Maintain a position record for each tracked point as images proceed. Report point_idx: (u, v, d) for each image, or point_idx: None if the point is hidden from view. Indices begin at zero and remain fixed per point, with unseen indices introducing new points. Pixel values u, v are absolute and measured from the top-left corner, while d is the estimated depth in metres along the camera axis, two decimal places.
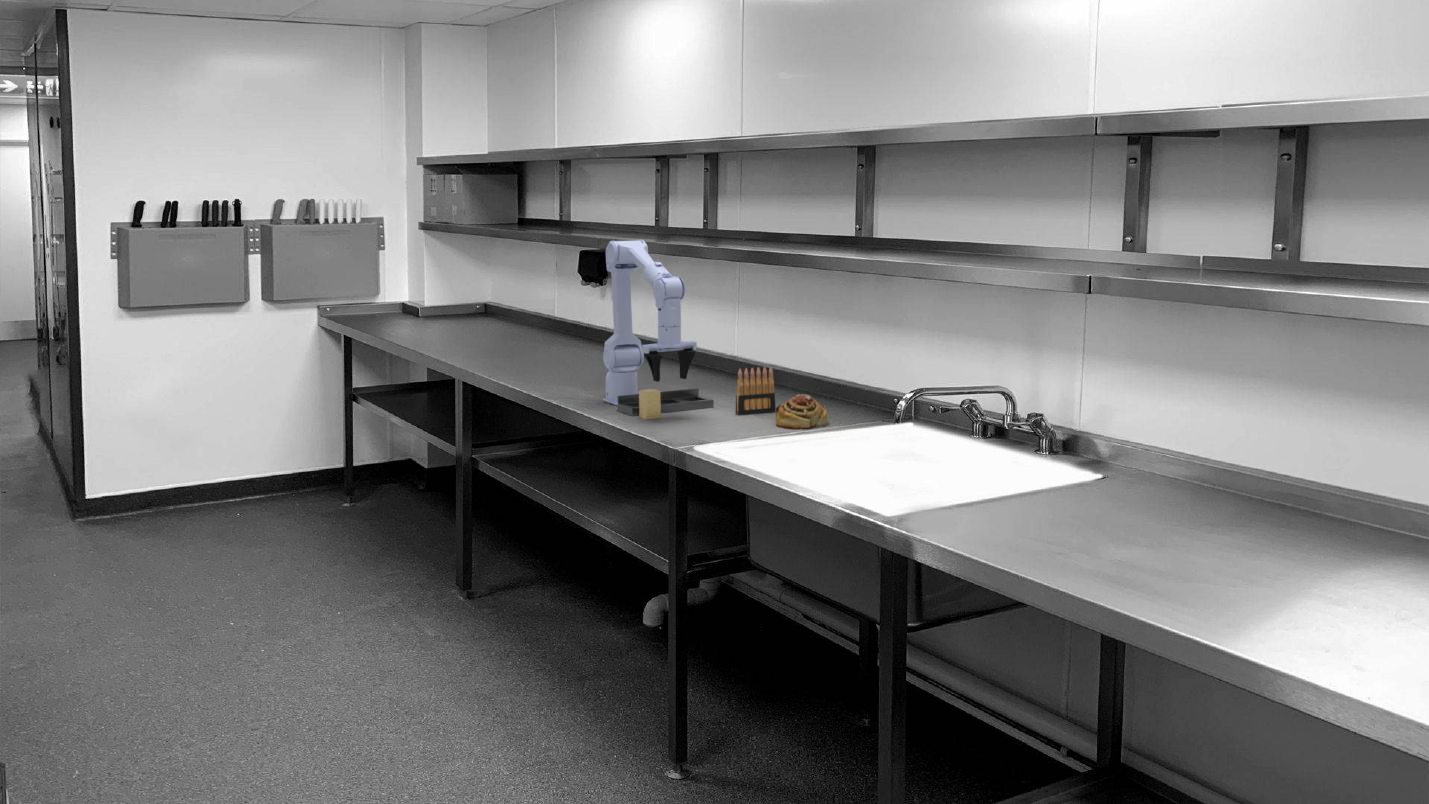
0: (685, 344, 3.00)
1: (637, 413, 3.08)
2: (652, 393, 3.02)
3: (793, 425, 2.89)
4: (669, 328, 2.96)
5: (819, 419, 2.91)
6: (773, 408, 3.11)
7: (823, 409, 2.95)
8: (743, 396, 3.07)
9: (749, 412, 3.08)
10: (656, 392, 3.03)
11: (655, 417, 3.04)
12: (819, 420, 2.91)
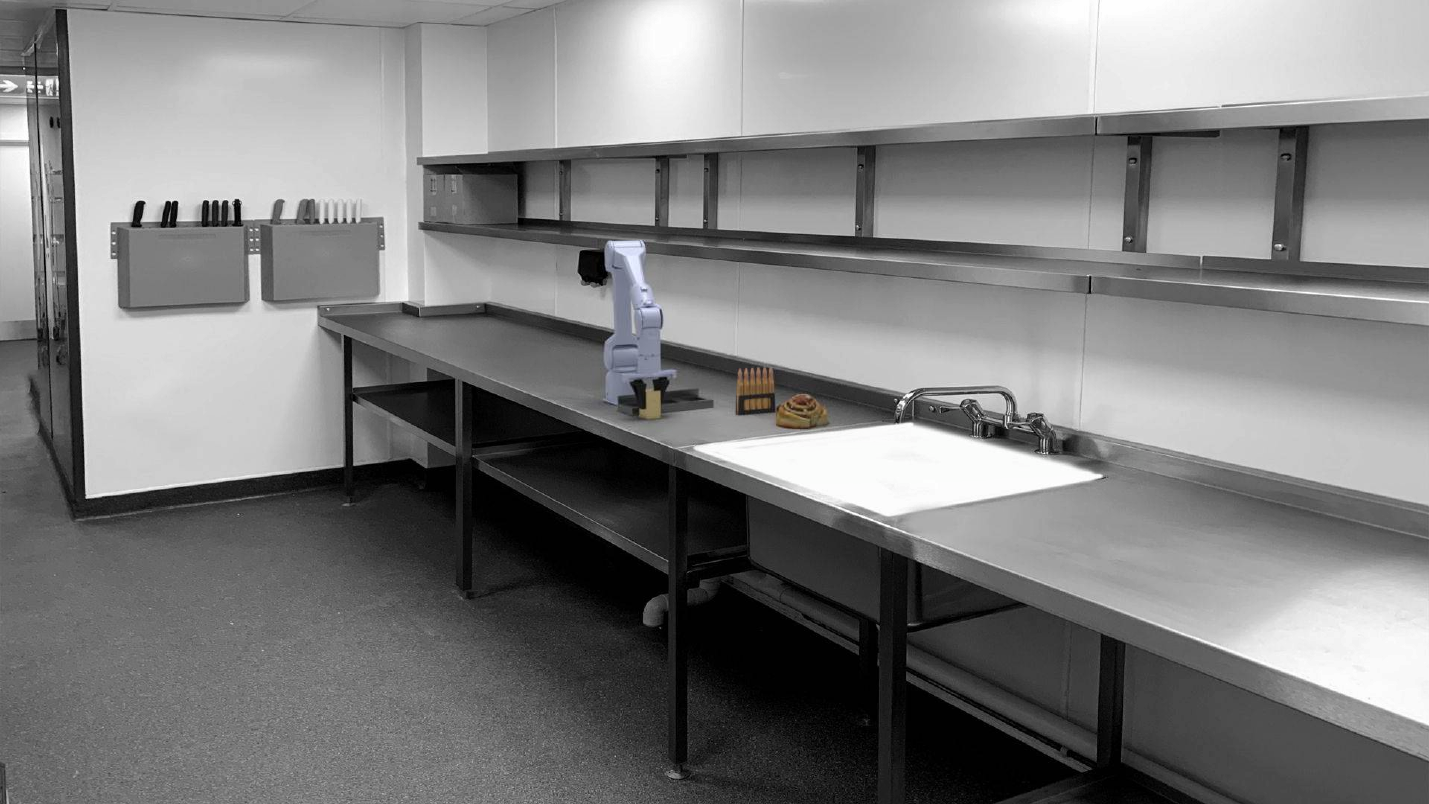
0: (665, 373, 3.03)
1: (637, 413, 3.08)
2: (652, 393, 3.02)
3: (792, 425, 2.89)
4: (648, 357, 3.00)
5: (819, 419, 2.92)
6: (773, 408, 3.11)
7: (824, 409, 2.95)
8: (743, 396, 3.07)
9: (749, 412, 3.08)
10: (656, 392, 3.03)
11: (655, 417, 3.04)
12: (819, 420, 2.92)
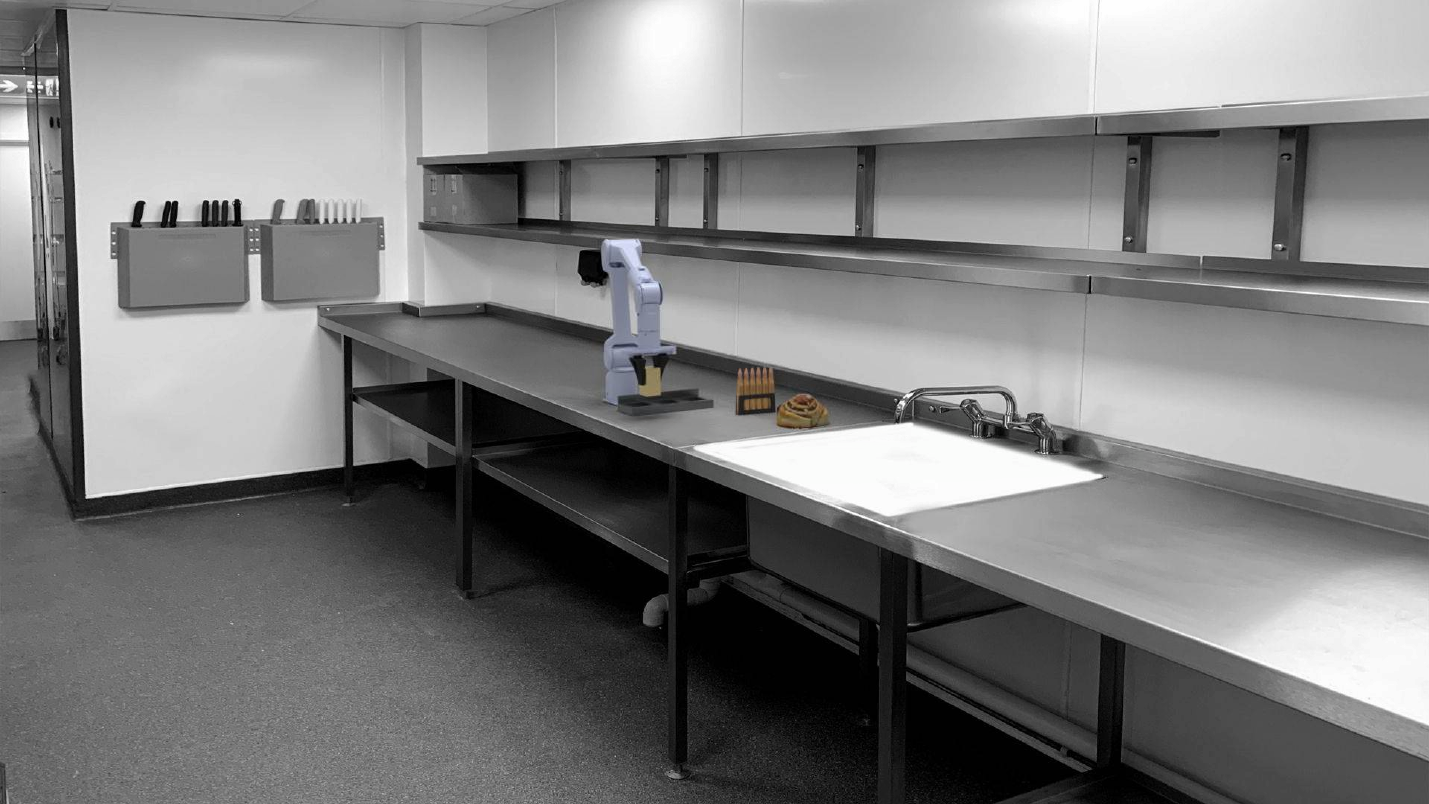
0: (664, 349, 3.02)
1: (637, 413, 3.08)
2: (652, 370, 3.01)
3: (793, 425, 2.90)
4: (648, 333, 2.98)
5: (820, 418, 2.92)
6: (773, 408, 3.11)
7: (824, 409, 2.95)
8: (743, 396, 3.07)
9: (749, 412, 3.08)
10: (656, 369, 3.02)
11: (655, 394, 3.02)
12: (820, 419, 2.92)
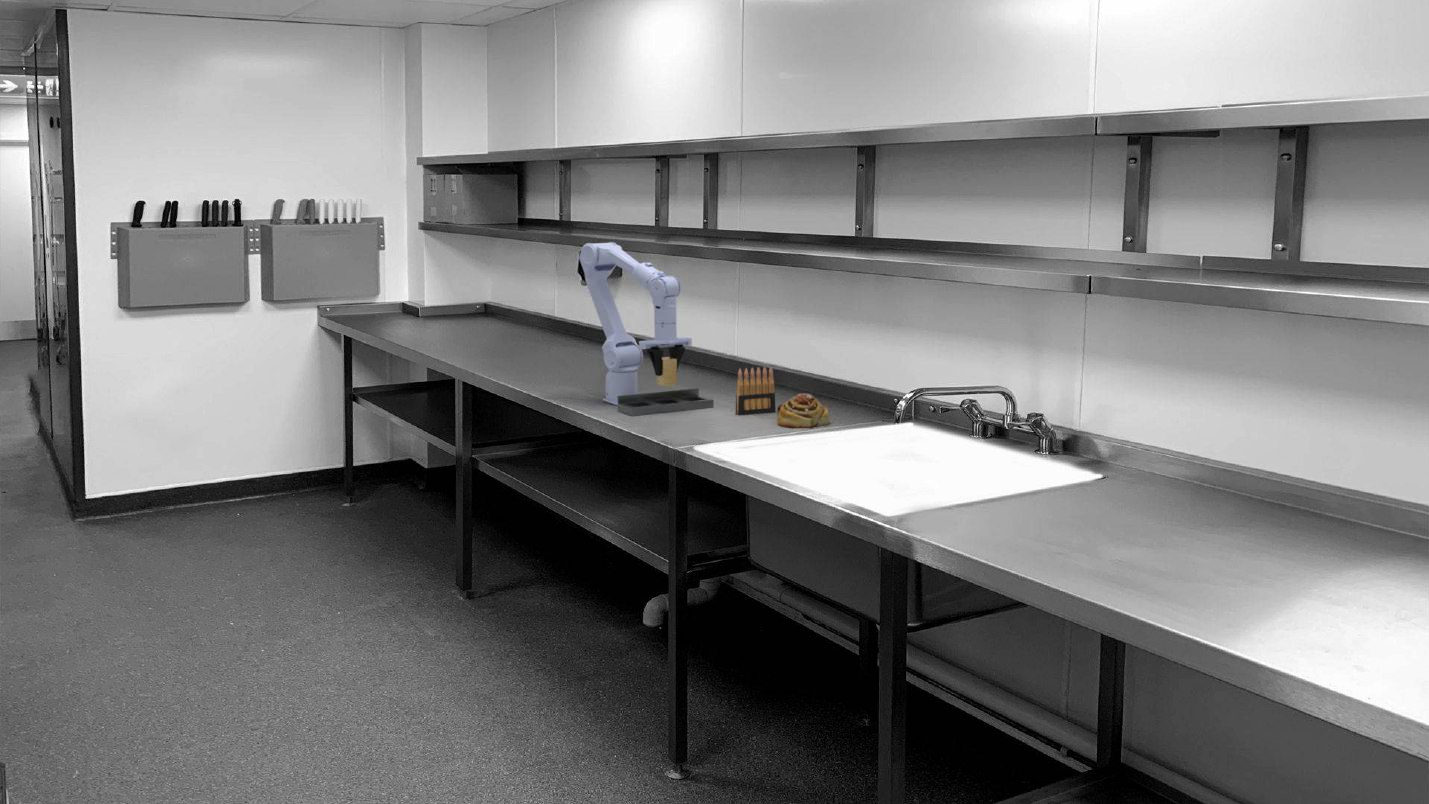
0: (680, 340, 3.13)
1: (637, 413, 3.08)
2: (669, 361, 3.12)
3: (794, 424, 2.90)
4: (665, 325, 3.10)
5: (820, 418, 2.92)
6: (773, 408, 3.11)
7: (825, 409, 2.96)
8: (743, 396, 3.07)
9: (749, 412, 3.08)
10: (672, 360, 3.13)
11: (671, 384, 3.13)
12: (820, 419, 2.92)
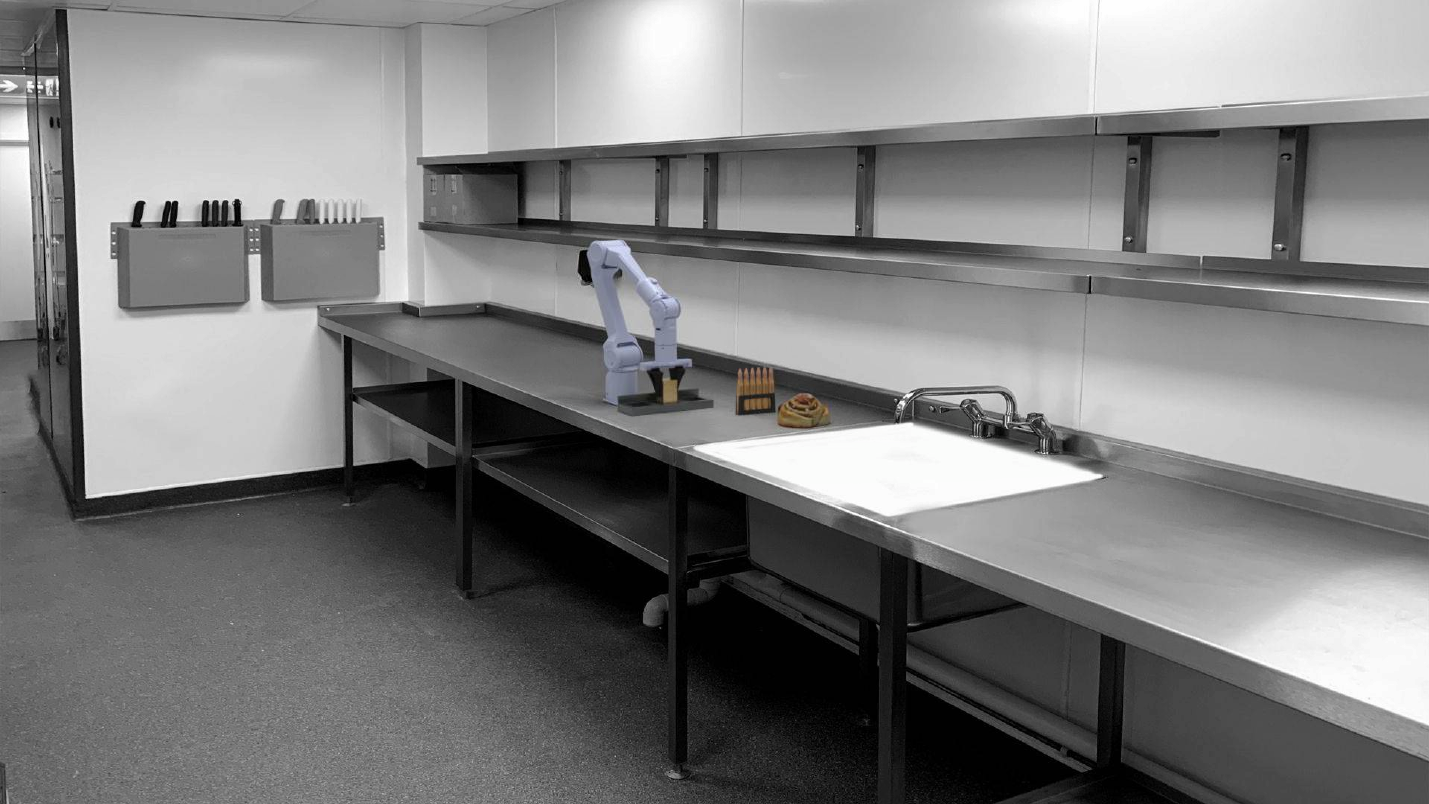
0: (681, 362, 3.14)
1: (637, 413, 3.08)
2: (669, 382, 3.13)
3: (795, 424, 2.90)
4: (665, 347, 3.11)
5: (821, 418, 2.93)
6: (773, 408, 3.11)
7: (825, 409, 2.96)
8: (743, 396, 3.07)
9: (749, 412, 3.08)
10: (673, 381, 3.13)
11: None
12: (821, 419, 2.93)
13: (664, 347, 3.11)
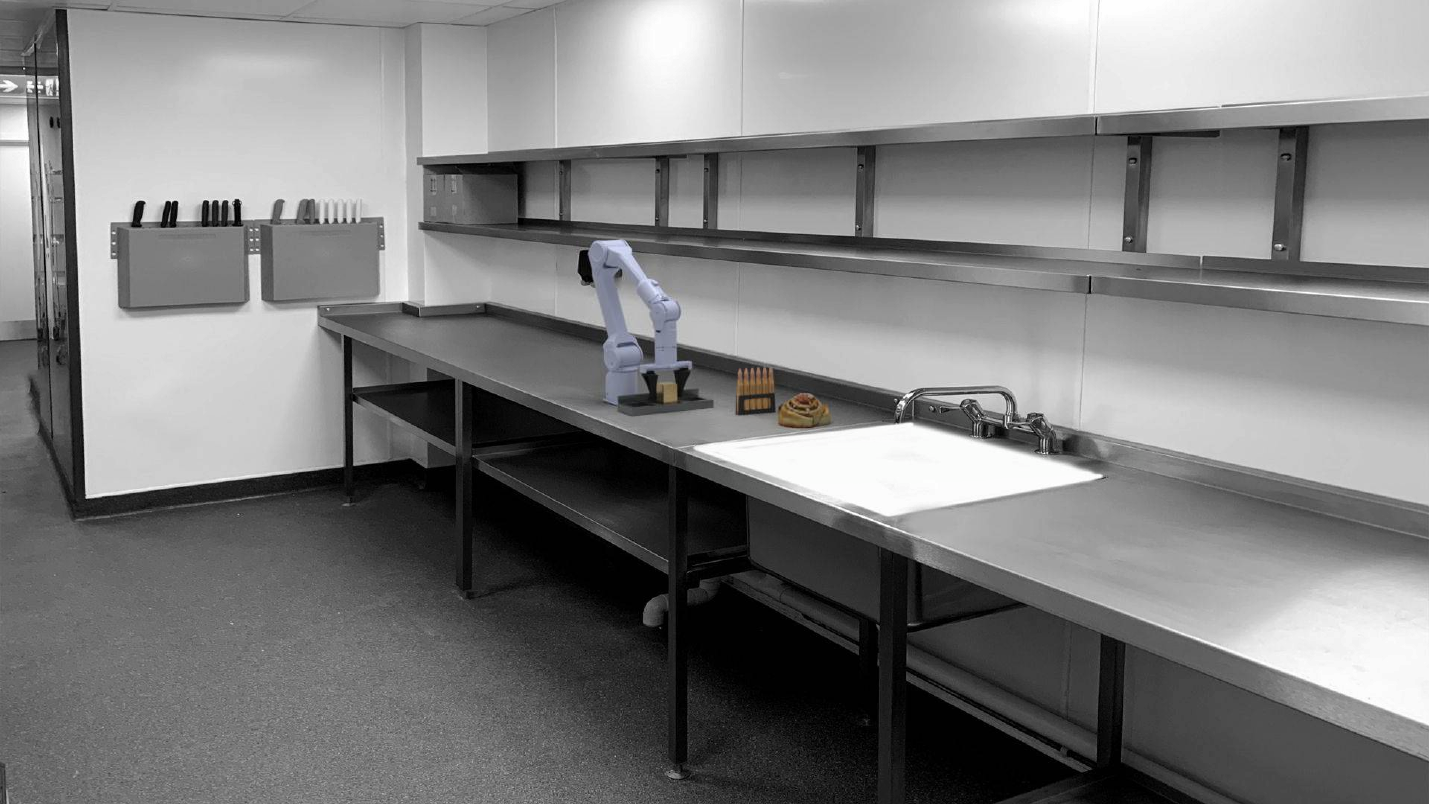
0: (681, 364, 3.14)
1: (637, 413, 3.08)
2: (669, 386, 3.13)
3: (795, 424, 2.90)
4: (665, 349, 3.11)
5: (821, 418, 2.93)
6: (773, 408, 3.11)
7: (826, 408, 2.96)
8: (743, 396, 3.07)
9: (749, 412, 3.08)
10: (673, 385, 3.14)
11: None
12: (821, 419, 2.93)
13: (664, 349, 3.11)
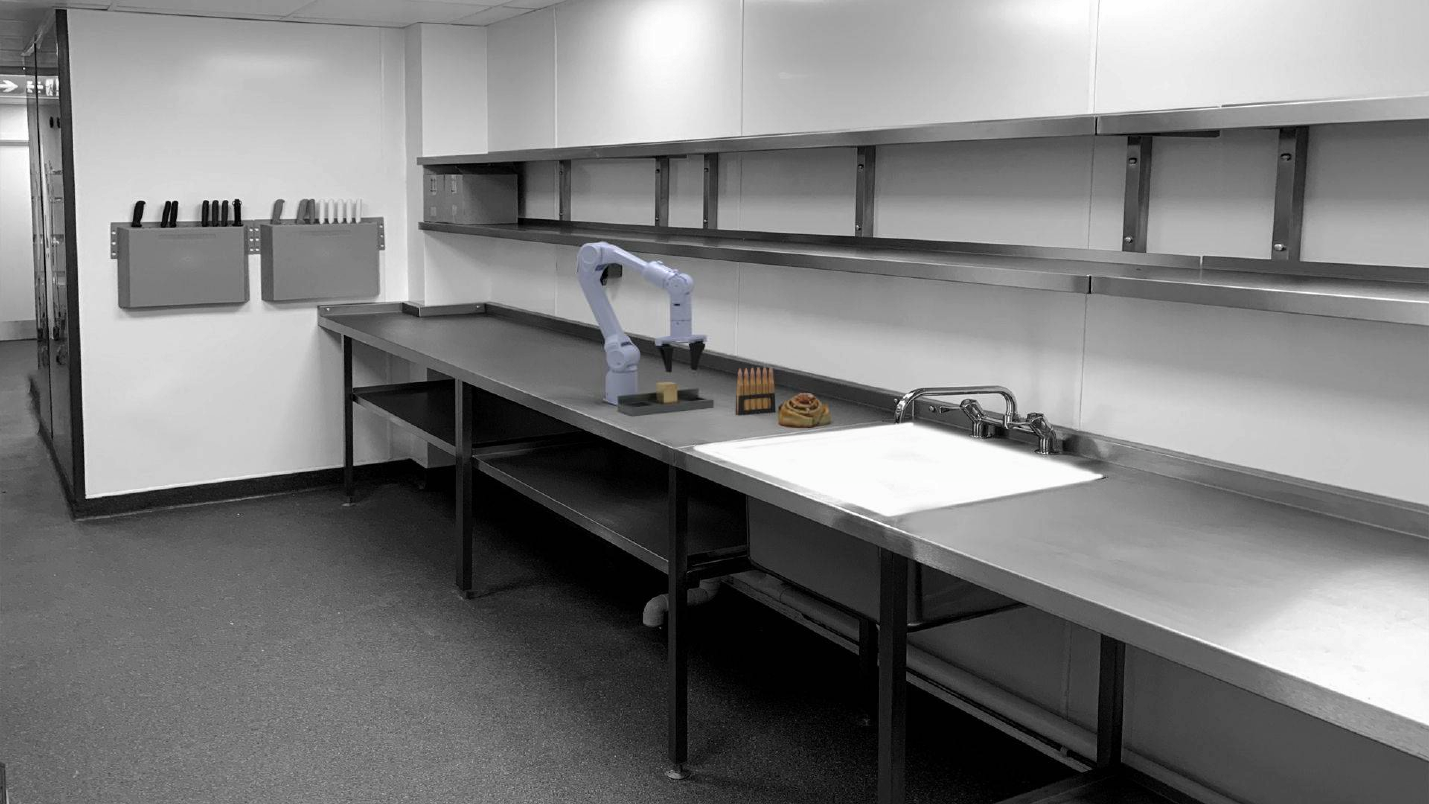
0: (696, 337, 3.18)
1: (637, 413, 3.08)
2: (669, 386, 3.13)
3: (795, 424, 2.91)
4: (680, 322, 3.15)
5: (821, 417, 2.93)
6: (773, 408, 3.11)
7: (826, 408, 2.97)
8: (743, 396, 3.07)
9: (749, 412, 3.08)
10: (673, 385, 3.14)
11: None
12: (821, 418, 2.93)
13: (679, 322, 3.15)
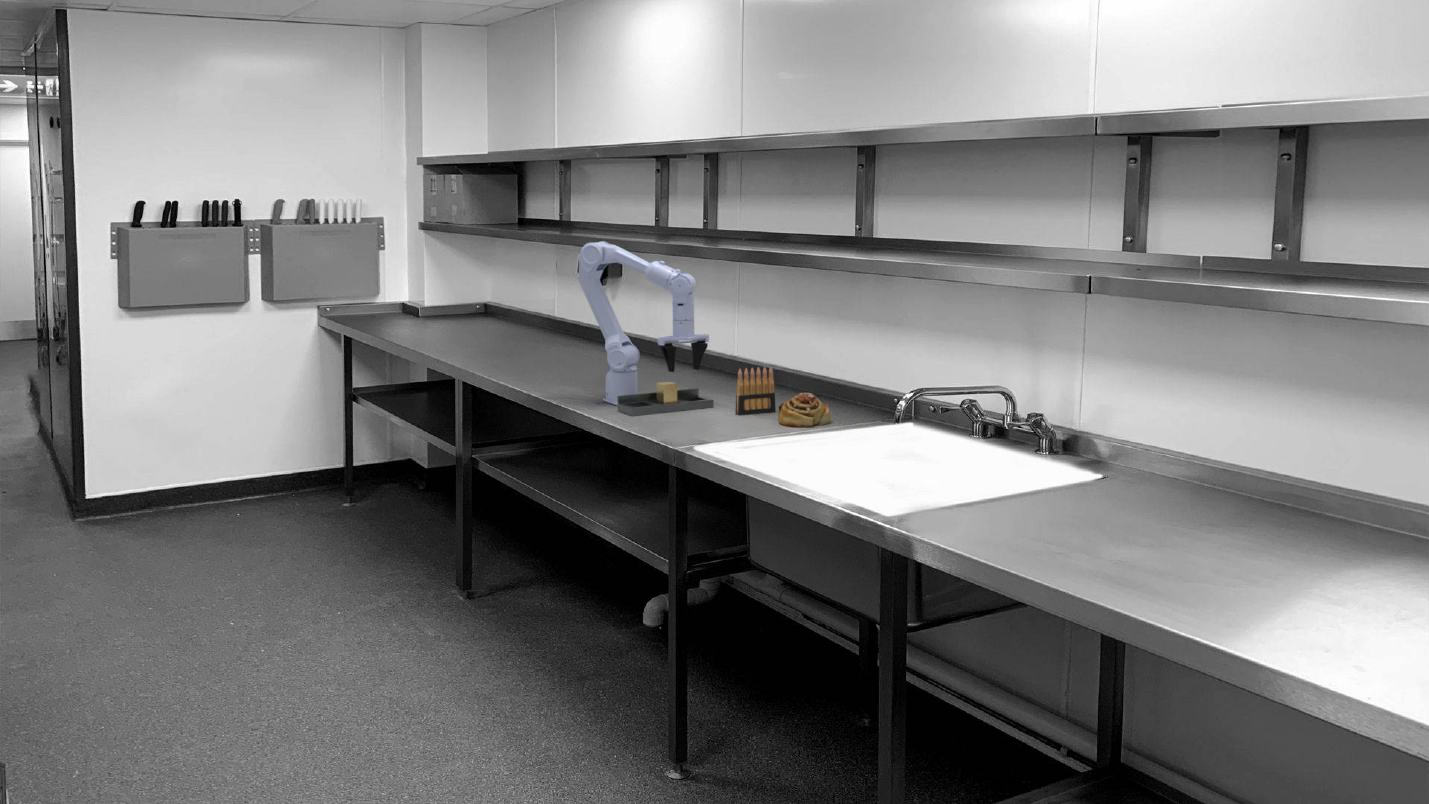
0: (698, 337, 3.19)
1: (637, 413, 3.08)
2: (669, 386, 3.13)
3: (796, 423, 2.91)
4: (683, 322, 3.16)
5: (822, 417, 2.94)
6: (773, 408, 3.11)
7: (826, 408, 2.97)
8: (743, 396, 3.07)
9: (749, 412, 3.08)
10: (673, 385, 3.14)
11: None
12: (822, 418, 2.94)
13: (682, 322, 3.16)
